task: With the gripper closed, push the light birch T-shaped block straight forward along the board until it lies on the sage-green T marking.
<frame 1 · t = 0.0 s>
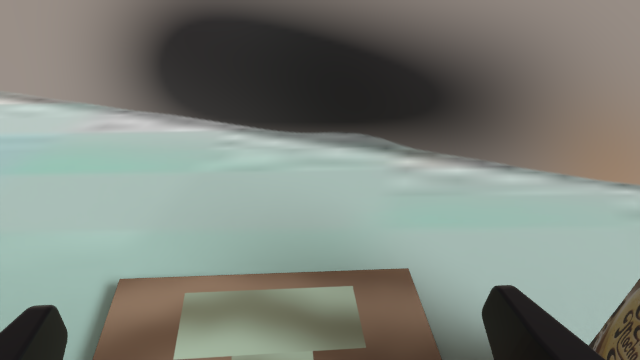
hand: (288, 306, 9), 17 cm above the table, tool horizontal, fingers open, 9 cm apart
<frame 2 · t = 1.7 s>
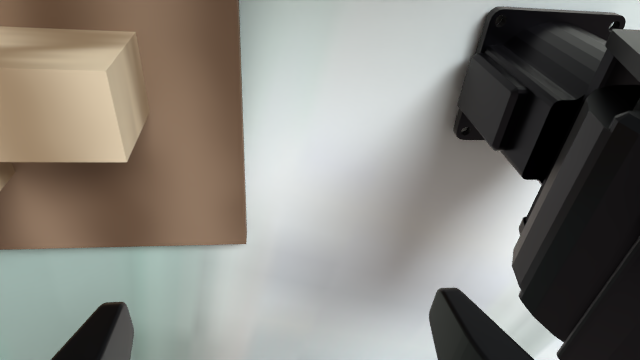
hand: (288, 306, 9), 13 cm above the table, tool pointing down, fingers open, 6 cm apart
t block: (13, 70, 17), point 1 cm above the table, touching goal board
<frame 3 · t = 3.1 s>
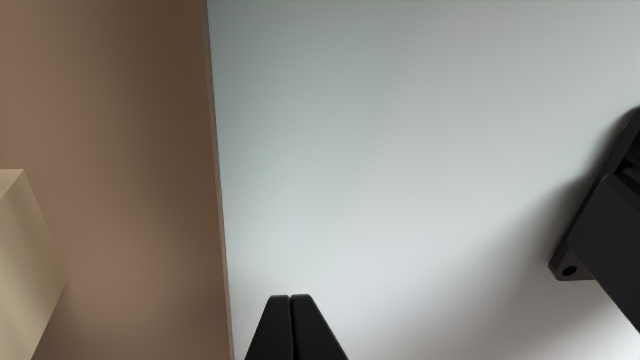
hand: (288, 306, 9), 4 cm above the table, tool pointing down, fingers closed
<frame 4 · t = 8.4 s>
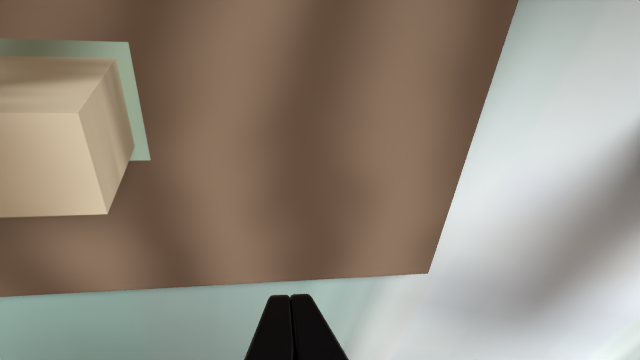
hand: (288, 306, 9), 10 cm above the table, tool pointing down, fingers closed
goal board: (156, 94, 16), on the table
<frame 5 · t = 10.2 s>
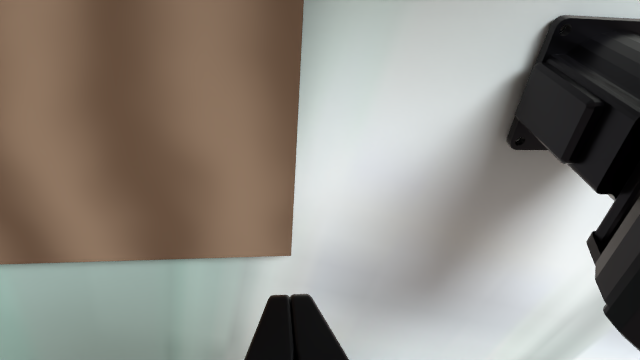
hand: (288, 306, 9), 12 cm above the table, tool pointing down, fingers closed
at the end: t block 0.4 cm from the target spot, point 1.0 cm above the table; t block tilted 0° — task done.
